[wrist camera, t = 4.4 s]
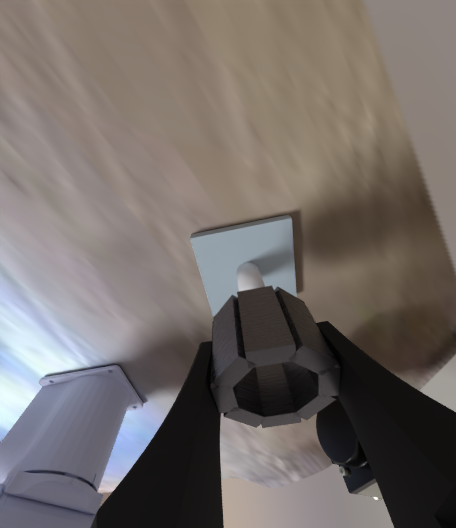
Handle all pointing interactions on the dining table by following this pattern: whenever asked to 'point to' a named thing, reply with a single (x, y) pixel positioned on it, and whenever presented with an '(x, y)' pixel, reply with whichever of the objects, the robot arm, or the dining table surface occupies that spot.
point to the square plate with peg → (245, 258)
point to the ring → (270, 360)
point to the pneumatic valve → (346, 450)
